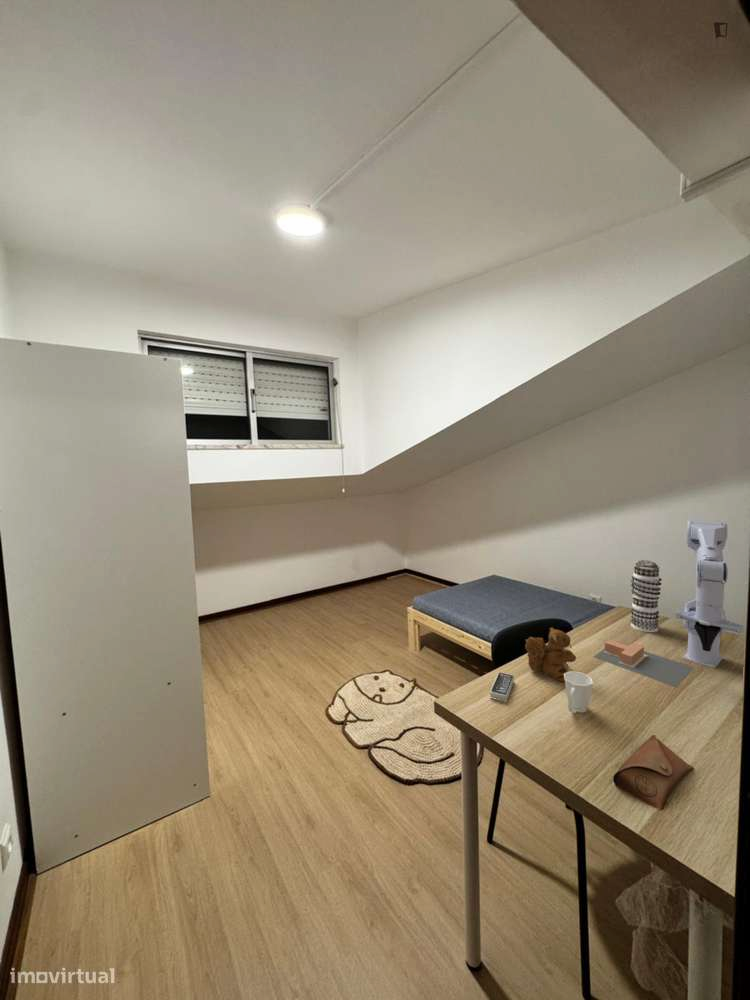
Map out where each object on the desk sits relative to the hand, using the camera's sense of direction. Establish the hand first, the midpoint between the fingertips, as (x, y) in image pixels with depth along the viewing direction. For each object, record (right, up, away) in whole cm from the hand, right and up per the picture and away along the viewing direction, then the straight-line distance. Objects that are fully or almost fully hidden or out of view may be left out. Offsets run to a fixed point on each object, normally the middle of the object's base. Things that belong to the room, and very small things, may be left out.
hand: (706, 649), depth 110 cm
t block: (-14, -8, +16) cm, 23 cm away
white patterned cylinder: (+7, -6, +36) cm, 37 cm away
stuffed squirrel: (-40, -10, +9) cm, 43 cm away
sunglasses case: (-36, -15, -30) cm, 50 cm away
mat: (-10, -9, +12) cm, 18 cm away
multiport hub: (-57, -12, +1) cm, 59 cm away
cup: (-42, -12, -9) cm, 45 cm away
